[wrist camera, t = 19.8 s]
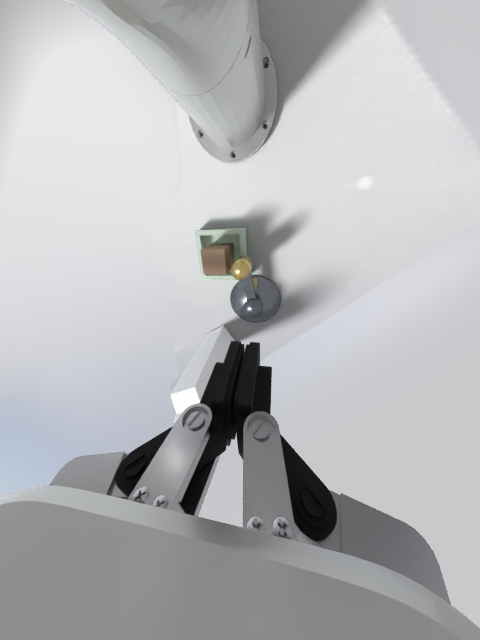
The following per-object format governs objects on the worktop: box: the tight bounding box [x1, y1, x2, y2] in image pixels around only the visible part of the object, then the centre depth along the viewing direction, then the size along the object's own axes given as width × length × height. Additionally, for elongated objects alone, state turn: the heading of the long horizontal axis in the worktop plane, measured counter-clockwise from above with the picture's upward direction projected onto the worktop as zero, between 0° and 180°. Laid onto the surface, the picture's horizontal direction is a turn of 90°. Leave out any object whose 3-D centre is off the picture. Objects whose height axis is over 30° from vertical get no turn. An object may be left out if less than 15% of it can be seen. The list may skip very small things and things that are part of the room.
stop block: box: [200, 243, 234, 275], centre depth 33 cm, size 4×4×7 cm
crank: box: [231, 255, 263, 318], centre depth 33 cm, size 12×4×6 cm, turn 12°
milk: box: [171, 325, 235, 422], centre depth 38 cm, size 6×6×22 cm
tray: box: [195, 228, 247, 280], centre depth 35 cm, size 9×9×2 cm
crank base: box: [230, 276, 280, 322], centre depth 39 cm, size 11×11×3 cm
